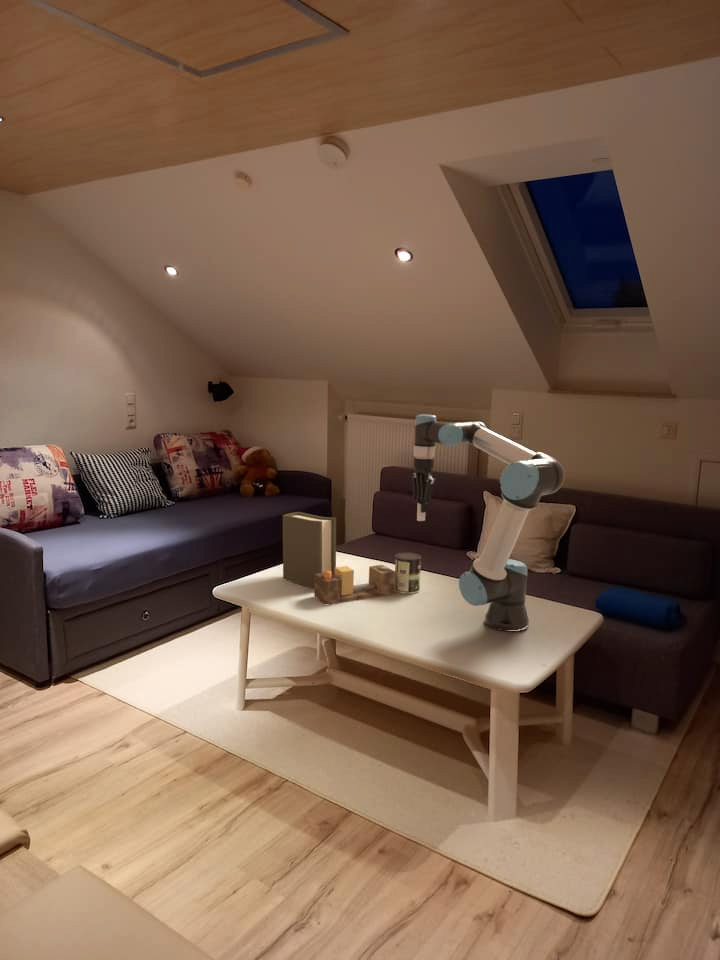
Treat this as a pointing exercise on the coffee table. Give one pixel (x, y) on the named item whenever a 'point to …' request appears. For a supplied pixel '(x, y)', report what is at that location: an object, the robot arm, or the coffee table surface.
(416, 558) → the coffee can
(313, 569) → the book
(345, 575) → the carriage
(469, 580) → the robot arm
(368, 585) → the bar
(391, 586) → the wooden base
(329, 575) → the orange peg
